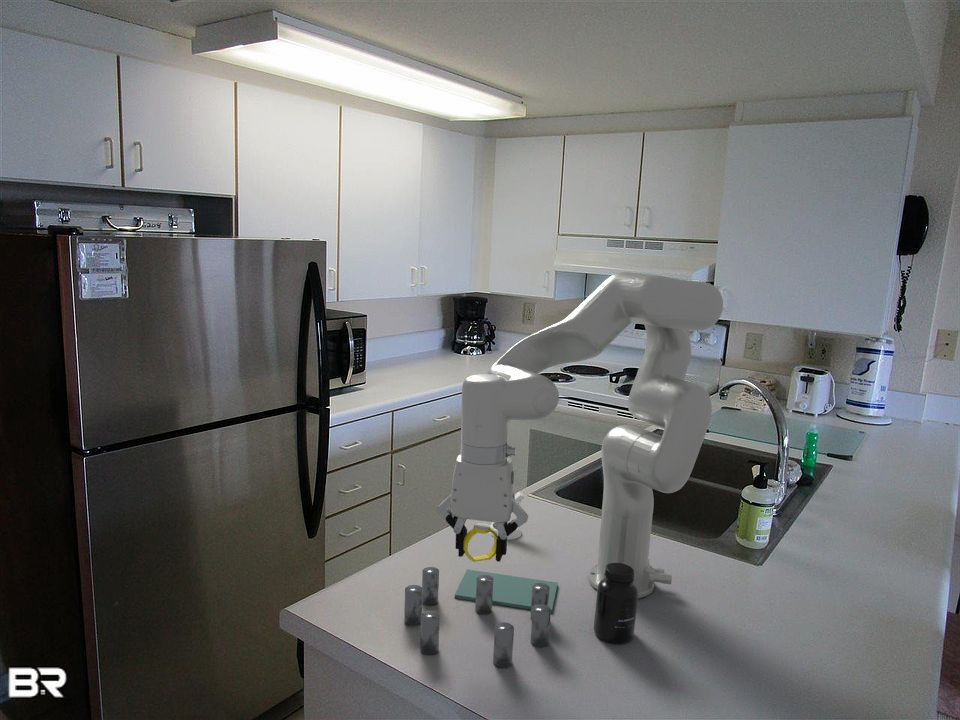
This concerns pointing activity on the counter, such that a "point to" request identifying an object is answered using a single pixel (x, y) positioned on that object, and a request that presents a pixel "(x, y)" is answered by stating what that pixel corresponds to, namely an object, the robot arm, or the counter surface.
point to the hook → (517, 532)
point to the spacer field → (482, 606)
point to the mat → (504, 589)
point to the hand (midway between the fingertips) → (480, 554)
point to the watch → (482, 529)
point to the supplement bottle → (616, 604)
